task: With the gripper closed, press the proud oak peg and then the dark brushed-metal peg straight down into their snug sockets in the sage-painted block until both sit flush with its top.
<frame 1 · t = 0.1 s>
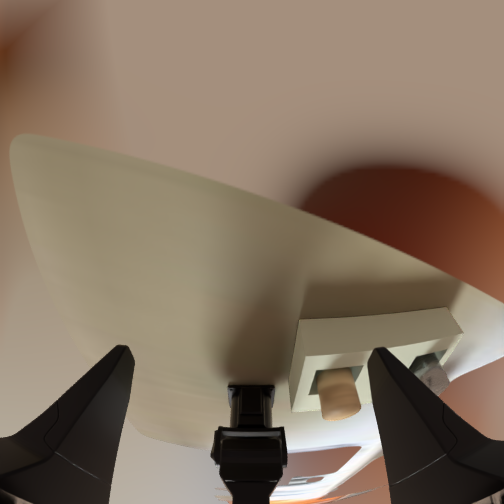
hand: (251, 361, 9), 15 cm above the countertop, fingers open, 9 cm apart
oak peg: (337, 393, 24), point 7 cm above the countertop, slide at 4.0 cm
steel peg: (428, 376, 24), point 7 cm above the countertop, slide at 4.0 cm
socket block: (369, 348, 31), on the countertop
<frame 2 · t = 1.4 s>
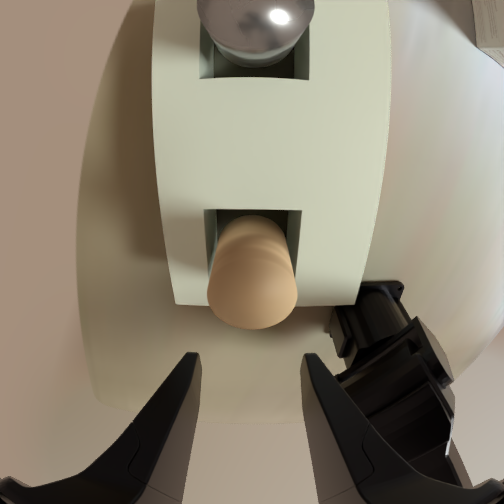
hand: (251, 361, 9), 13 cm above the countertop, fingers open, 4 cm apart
oak peg: (252, 268, 14), point 7 cm above the countertop, slide at 4.0 cm
steel peg: (255, 19, 8), point 7 cm above the countertop, slide at 4.0 cm
supplement box: (495, 36, 10), on the countertop
socket block: (268, 135, 17), on the countertop
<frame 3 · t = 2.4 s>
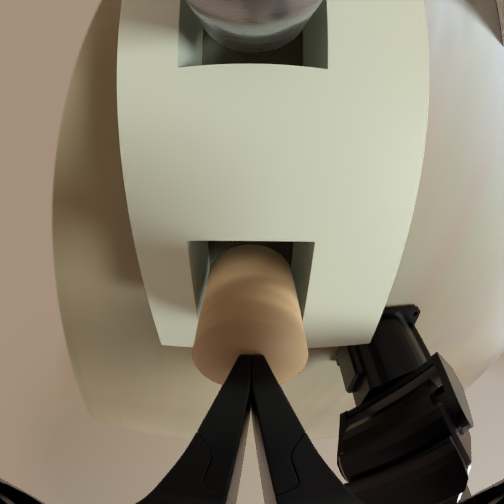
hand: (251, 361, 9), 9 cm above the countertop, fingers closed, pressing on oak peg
oak peg: (250, 315, 11), point 7 cm above the countertop, slide at 3.8 cm, touching gripper
socket block: (270, 140, 14), on the countertop
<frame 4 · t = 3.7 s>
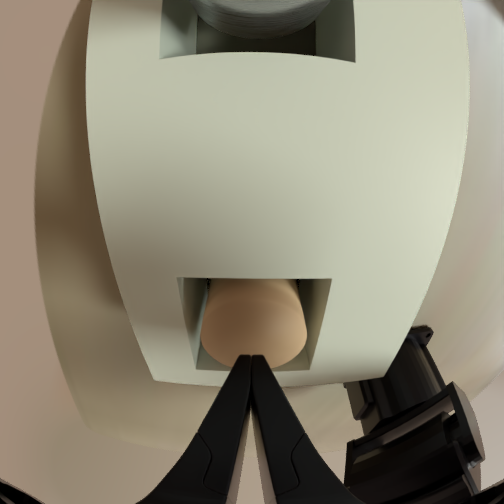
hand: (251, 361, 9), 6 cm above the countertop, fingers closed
oak peg: (253, 300, 12), point 3 cm above the countertop, slide at 0.4 cm
socket block: (277, 149, 11), on the countertop
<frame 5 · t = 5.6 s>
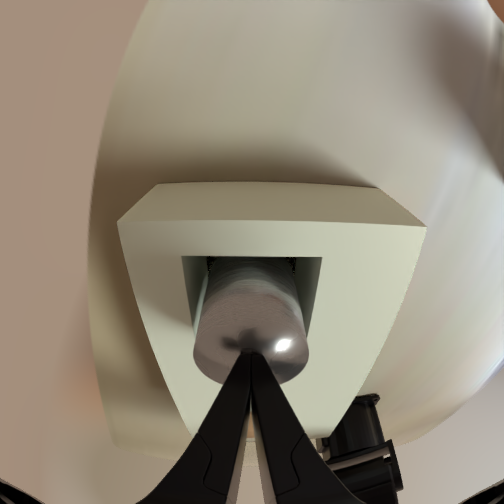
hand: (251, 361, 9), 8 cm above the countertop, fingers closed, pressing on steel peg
oak peg: (250, 403, 19), point 3 cm above the countertop, slide at 0.4 cm
steel peg: (251, 315, 11), point 5 cm above the countertop, slide at 2.6 cm, touching gripper
socket block: (265, 326, 18), on the countertop
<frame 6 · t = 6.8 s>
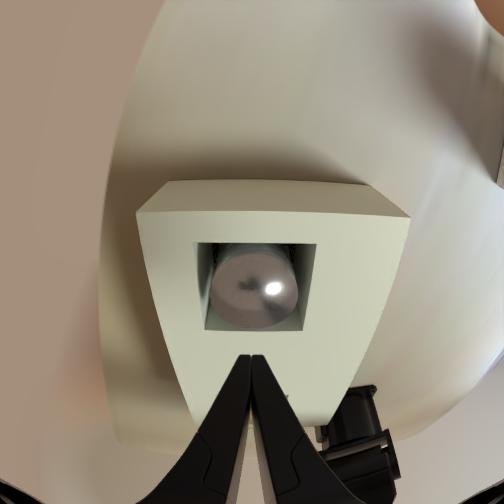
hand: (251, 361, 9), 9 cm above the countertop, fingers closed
oak peg: (251, 390, 20), point 3 cm above the countertop, slide at 0.4 cm
steel peg: (253, 269, 14), point 3 cm above the countertop, slide at 0.4 cm
socket block: (266, 314, 20), on the countertop
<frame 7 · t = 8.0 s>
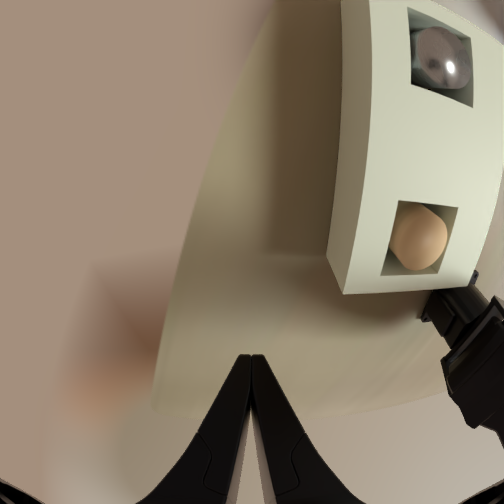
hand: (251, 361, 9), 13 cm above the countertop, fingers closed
oak peg: (408, 228, 17), point 3 cm above the countertop, slide at 0.4 cm
steel peg: (427, 59, 11), point 3 cm above the countertop, slide at 0.4 cm
socket block: (412, 140, 16), on the countertop
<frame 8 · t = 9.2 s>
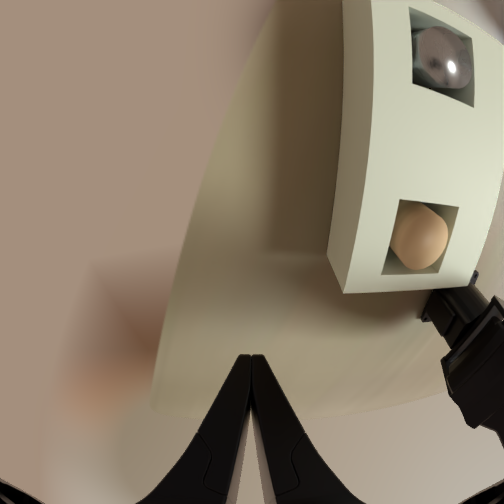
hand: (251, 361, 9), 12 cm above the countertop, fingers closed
oak peg: (408, 227, 17), point 3 cm above the countertop, slide at 0.4 cm
steel peg: (428, 59, 11), point 3 cm above the countertop, slide at 0.4 cm
socket block: (413, 139, 16), on the countertop
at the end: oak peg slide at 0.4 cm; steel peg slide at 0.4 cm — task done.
